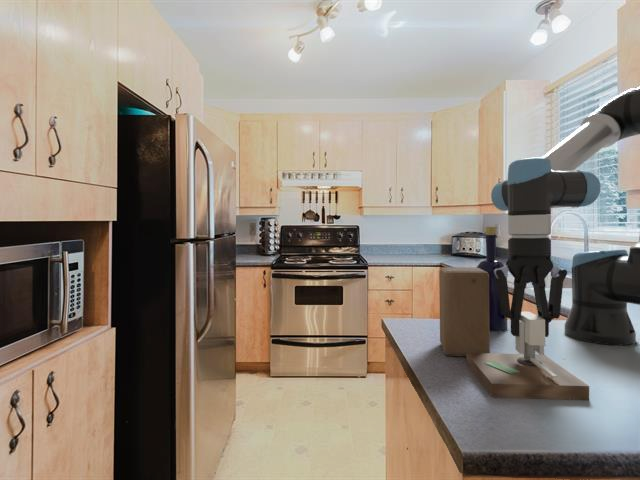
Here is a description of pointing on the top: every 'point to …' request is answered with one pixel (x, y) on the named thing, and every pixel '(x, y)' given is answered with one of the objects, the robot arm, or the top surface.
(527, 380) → the board
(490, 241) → the bottle
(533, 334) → the cream block and rod
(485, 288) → the wooden block
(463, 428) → the top surface
